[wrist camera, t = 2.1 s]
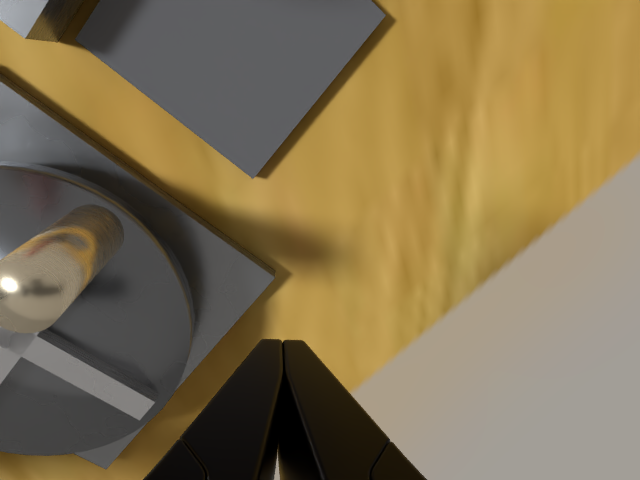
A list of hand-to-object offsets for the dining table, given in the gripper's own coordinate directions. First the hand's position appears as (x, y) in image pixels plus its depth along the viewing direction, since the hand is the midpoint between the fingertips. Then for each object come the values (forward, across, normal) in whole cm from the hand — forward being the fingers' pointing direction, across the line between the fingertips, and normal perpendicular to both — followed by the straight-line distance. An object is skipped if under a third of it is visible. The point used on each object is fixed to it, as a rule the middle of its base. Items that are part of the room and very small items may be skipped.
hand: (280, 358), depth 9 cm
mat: (+9, +2, -6) cm, 11 cm away
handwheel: (+7, +8, +4) cm, 12 cm away
